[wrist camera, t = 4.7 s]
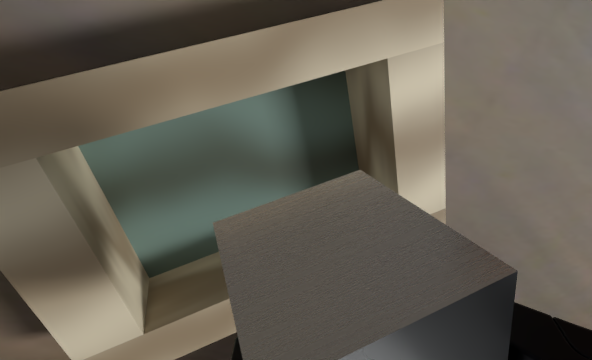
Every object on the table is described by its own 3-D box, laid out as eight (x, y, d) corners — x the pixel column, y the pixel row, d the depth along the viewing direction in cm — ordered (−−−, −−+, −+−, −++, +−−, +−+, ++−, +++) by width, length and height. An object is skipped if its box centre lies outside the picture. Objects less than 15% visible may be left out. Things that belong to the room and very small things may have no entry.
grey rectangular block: (381, 325, 11) (495, 475, 7) (272, 378, 10) (333, 581, 6) (360, 169, 9) (517, 271, 5) (212, 222, 8) (252, 402, 4)
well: (400, 207, 24) (445, 239, 20) (113, 323, 19) (98, 393, 15) (383, -1, 18) (443, -14, 14) (-35, 98, 13) (-120, 119, 10)
